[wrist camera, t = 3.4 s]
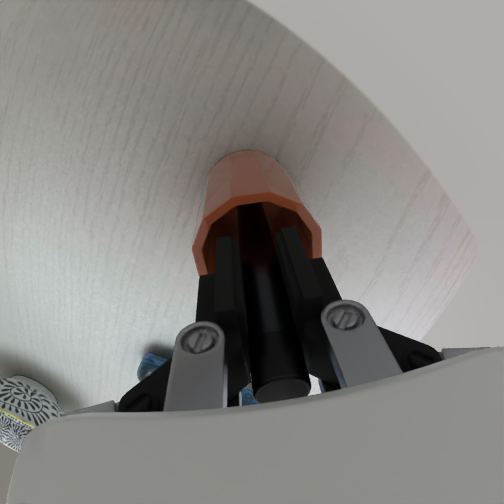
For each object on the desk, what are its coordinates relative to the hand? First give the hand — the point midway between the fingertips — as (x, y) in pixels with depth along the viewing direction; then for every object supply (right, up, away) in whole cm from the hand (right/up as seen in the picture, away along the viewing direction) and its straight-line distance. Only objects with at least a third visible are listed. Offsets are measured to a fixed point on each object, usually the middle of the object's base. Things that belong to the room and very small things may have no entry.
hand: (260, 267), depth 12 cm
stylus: (-1, +4, +6) cm, 8 cm away
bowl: (-28, -17, +18) cm, 37 cm away
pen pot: (-1, +4, +7) cm, 8 cm away
